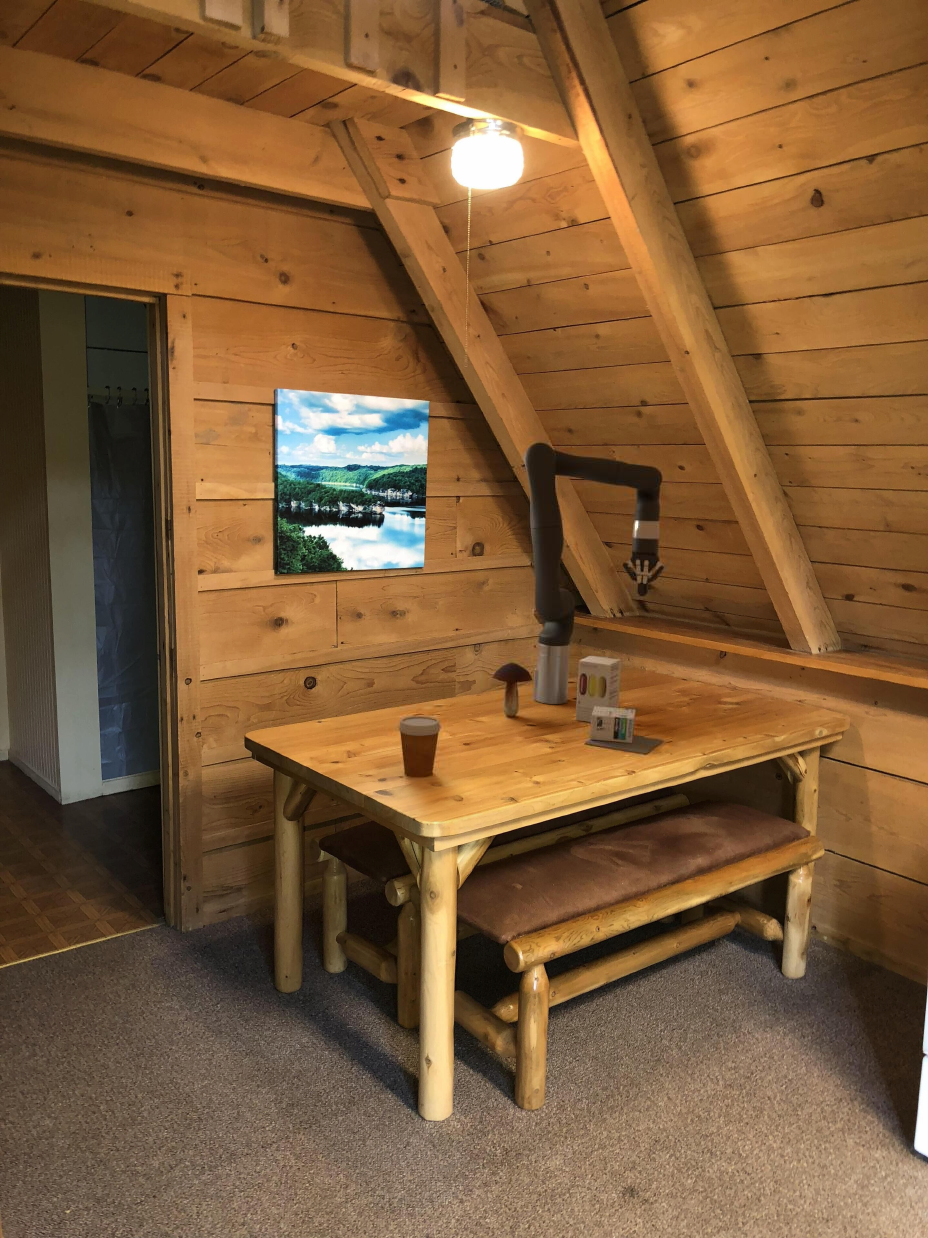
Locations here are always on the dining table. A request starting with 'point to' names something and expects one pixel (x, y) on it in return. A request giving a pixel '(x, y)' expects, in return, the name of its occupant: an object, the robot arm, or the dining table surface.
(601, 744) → the mat
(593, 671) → the supplement box
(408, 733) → the disposable coffee cup
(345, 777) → the dining table surface
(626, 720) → the light bulb box
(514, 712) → the decorative mushroom
